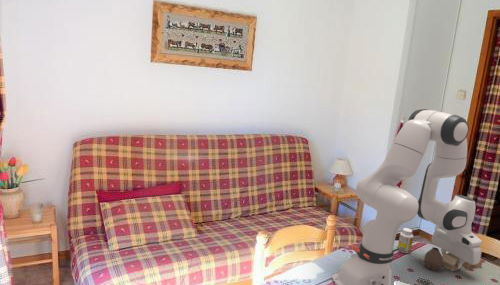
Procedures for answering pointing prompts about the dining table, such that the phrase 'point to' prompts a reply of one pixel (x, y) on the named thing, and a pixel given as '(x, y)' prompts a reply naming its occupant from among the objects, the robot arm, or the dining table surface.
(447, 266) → the maple cube
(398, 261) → the dining table surface
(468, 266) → the walnut block
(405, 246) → the supplement bottle
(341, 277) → the robot arm
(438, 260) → the vase
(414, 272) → the dining table surface
